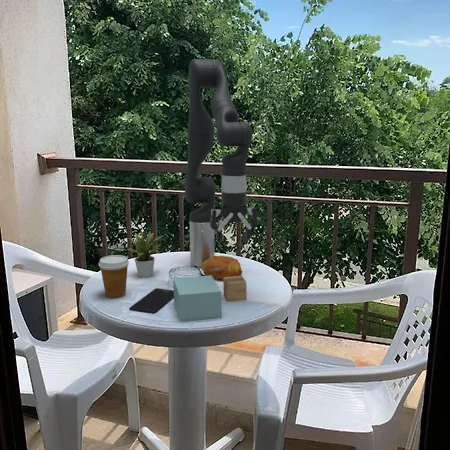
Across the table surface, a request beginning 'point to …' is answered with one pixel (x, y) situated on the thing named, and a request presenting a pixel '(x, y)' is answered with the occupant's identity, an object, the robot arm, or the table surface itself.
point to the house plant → (145, 255)
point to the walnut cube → (234, 288)
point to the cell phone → (153, 301)
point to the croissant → (221, 267)
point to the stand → (197, 298)
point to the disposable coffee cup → (114, 275)
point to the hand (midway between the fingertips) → (233, 241)
